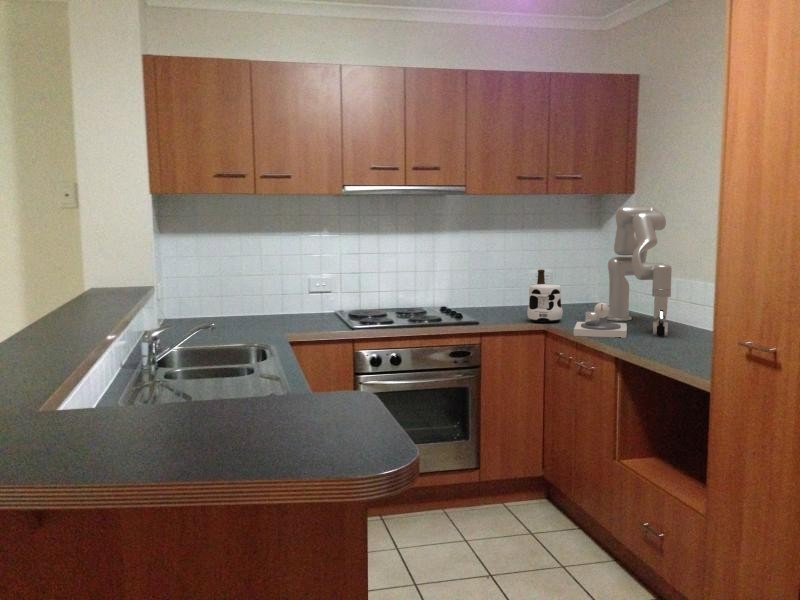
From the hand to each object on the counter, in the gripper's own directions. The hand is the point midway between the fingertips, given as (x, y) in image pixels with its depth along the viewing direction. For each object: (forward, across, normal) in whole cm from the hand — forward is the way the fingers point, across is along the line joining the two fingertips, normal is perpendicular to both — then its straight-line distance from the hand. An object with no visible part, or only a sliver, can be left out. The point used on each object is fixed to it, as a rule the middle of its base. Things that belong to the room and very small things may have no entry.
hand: (660, 333), depth 297 cm
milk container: (+1, -28, -53) cm, 60 cm away
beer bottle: (+1, -53, -58) cm, 79 cm away
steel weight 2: (+1, 0, 0) cm, 1 cm away
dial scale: (+1, 0, -25) cm, 25 cm away
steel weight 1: (-3, +2, -29) cm, 29 cm away
